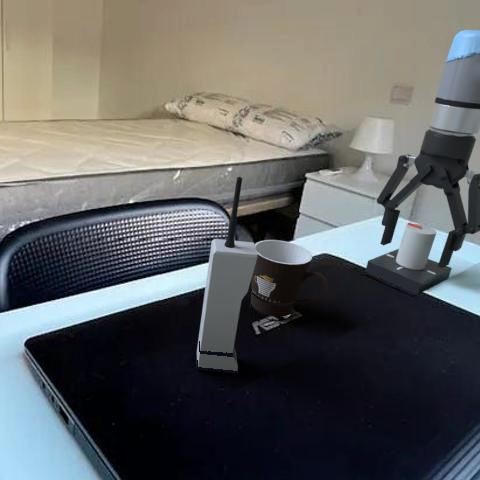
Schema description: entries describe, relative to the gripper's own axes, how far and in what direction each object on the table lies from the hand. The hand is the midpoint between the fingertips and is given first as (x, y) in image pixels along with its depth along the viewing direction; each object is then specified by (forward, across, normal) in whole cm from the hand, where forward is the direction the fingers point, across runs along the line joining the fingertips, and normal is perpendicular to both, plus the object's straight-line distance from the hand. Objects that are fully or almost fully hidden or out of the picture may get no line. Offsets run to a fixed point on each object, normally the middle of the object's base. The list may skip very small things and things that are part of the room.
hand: (413, 253), depth 91 cm
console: (+5, 0, 0) cm, 5 cm away
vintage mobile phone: (+5, +1, +49) cm, 49 cm away
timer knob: (+2, 0, 0) cm, 2 cm away
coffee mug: (+5, +5, +32) cm, 33 cm away
